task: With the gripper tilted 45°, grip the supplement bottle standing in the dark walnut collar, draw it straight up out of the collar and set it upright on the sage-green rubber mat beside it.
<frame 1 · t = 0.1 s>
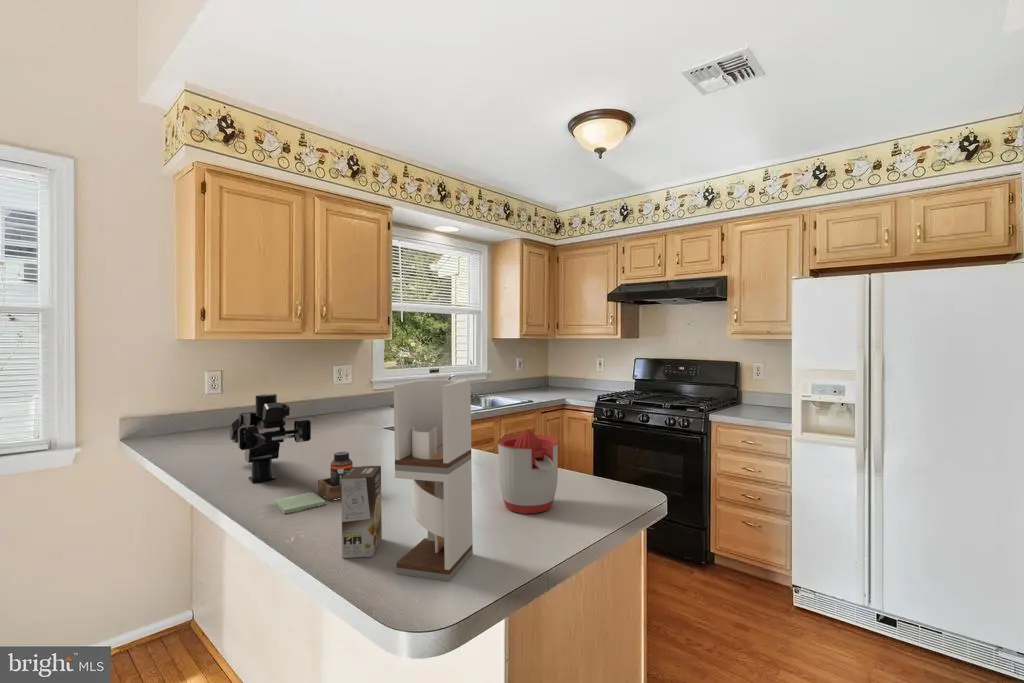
hand: (284, 438, 133), 17 cm above the countertop, tool horizontal, fingers open, 9 cm apart
citrus juicer: (530, 508, 125), on the countertop
supplement bottle: (341, 493, 138), resting in walnut collar
white tiered shelf stand: (436, 564, 95), on the countertop
sage rubber mat: (299, 504, 129), on the countertop
coffee box: (363, 549, 102), on the countertop
walnut collar: (341, 492, 138), on the countertop
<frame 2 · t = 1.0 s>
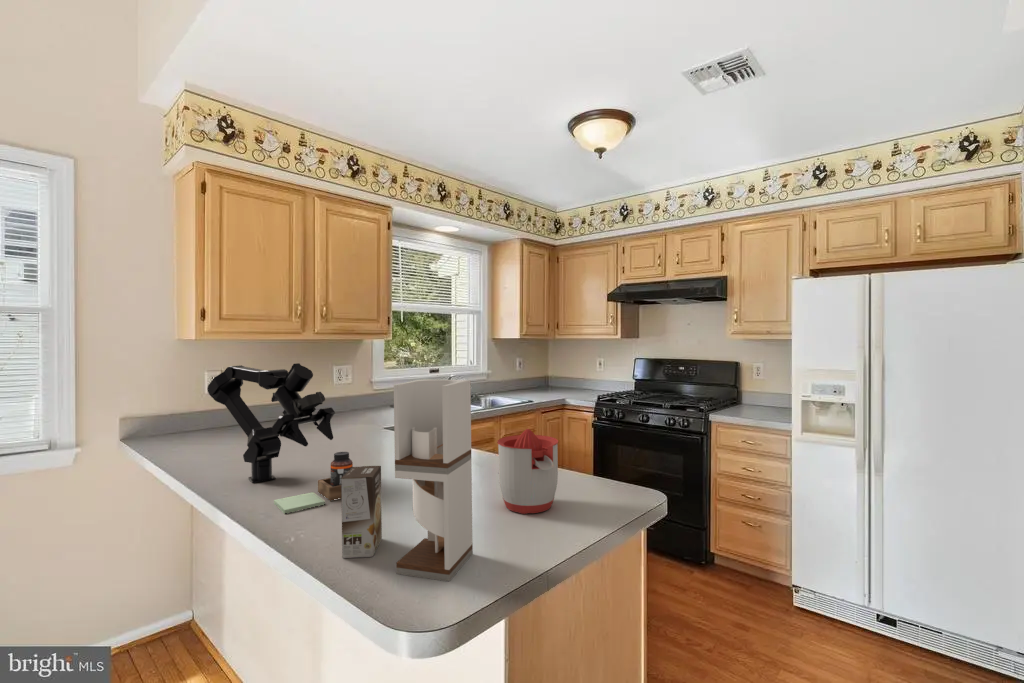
hand: (320, 442, 142), 14 cm above the countertop, tool tilted 45°, fingers open, 9 cm apart
nothing on the countertop moved.
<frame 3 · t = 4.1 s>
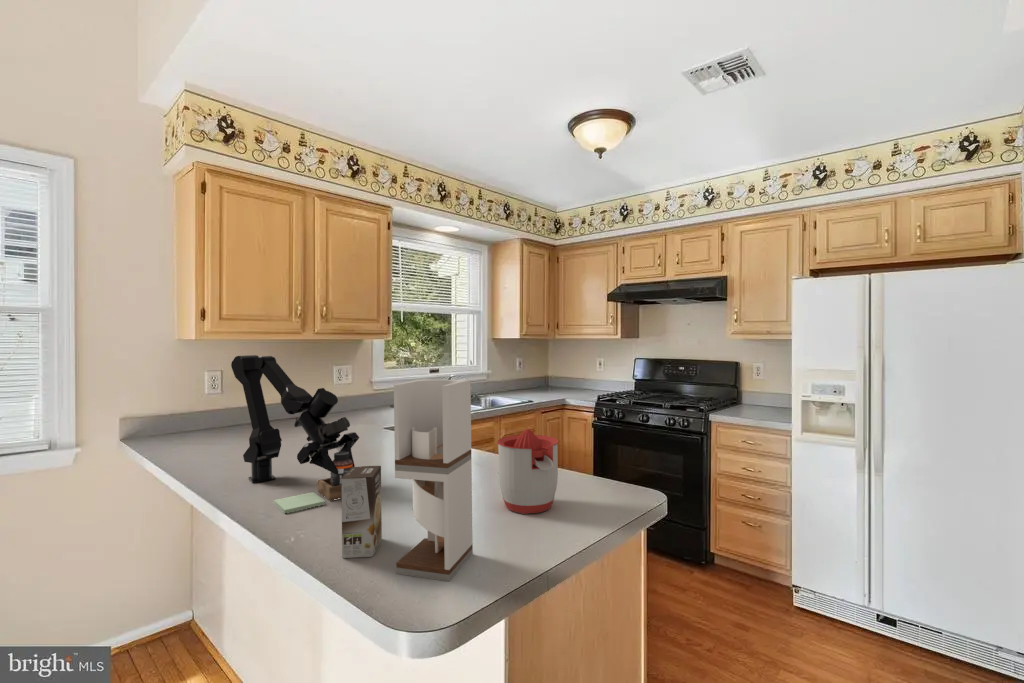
hand: (345, 470, 138), 7 cm above the countertop, tool tilted 45°, fingers closed on supplement bottle, 6 cm apart
supplement bottle: (341, 493, 138), resting in walnut collar, touching gripper
everything else where it was.
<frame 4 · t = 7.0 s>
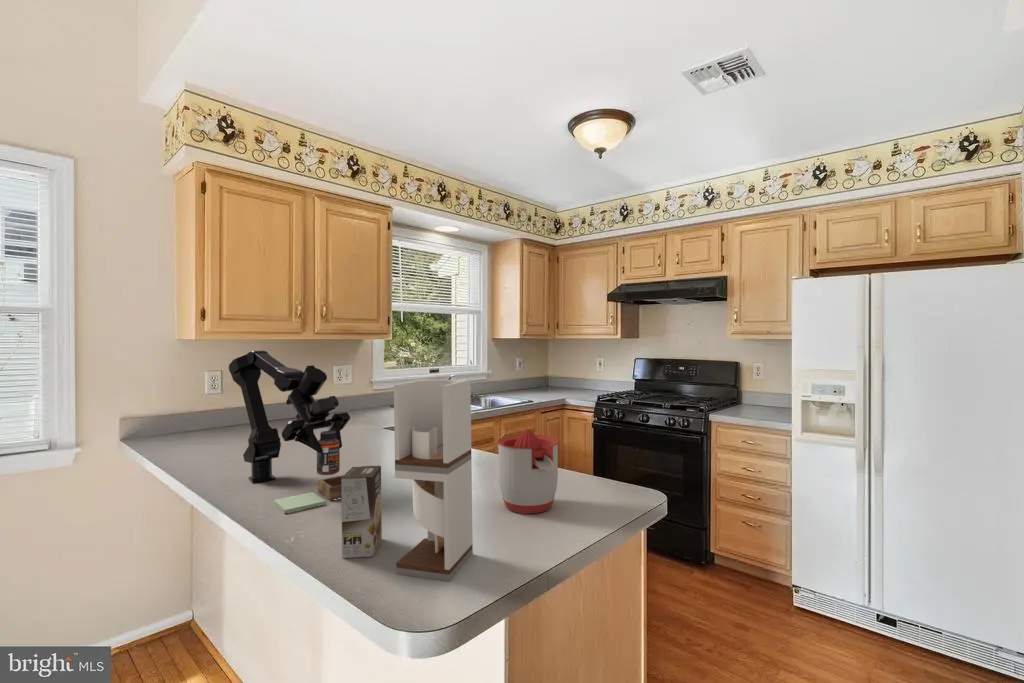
hand: (331, 449, 134), 13 cm above the countertop, tool tilted 45°, fingers closed on supplement bottle, 6 cm apart
supplement bottle: (328, 473, 135), point 6 cm above the countertop, touching gripper
everything else where it was.
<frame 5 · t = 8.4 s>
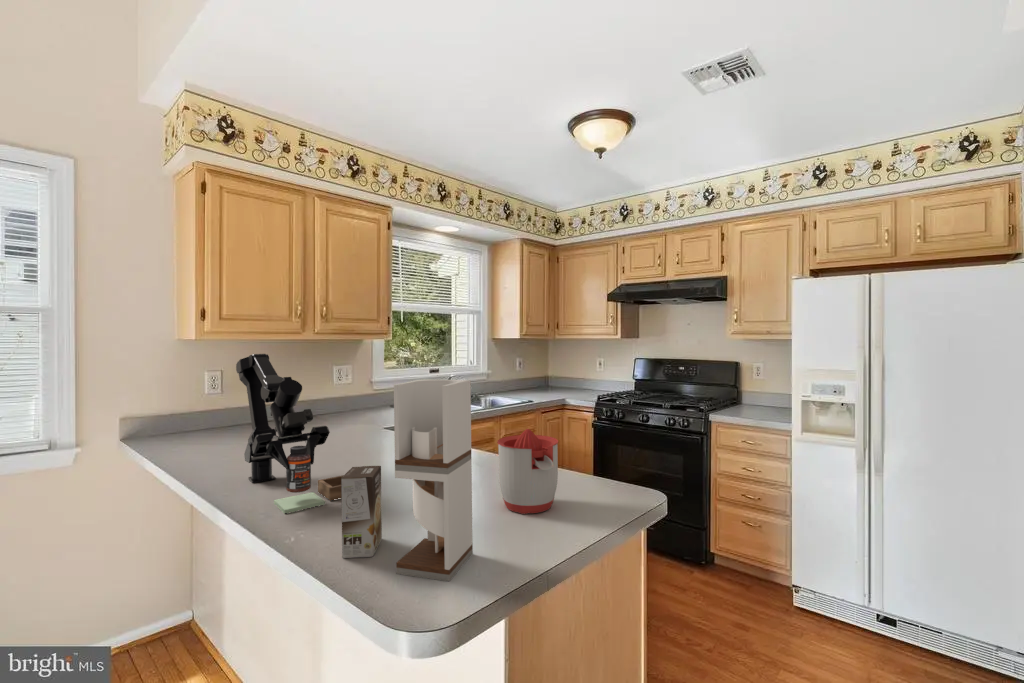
hand: (300, 465, 128), 10 cm above the countertop, tool tilted 45°, fingers closed on supplement bottle, 6 cm apart
supplement bottle: (298, 490, 129), point 4 cm above the countertop, touching gripper
everything else where it was.
when the fingers open (8 cm above the countertop, at t = 9.7 s): supplement bottle stays where it is, resting on sage rubber mat.
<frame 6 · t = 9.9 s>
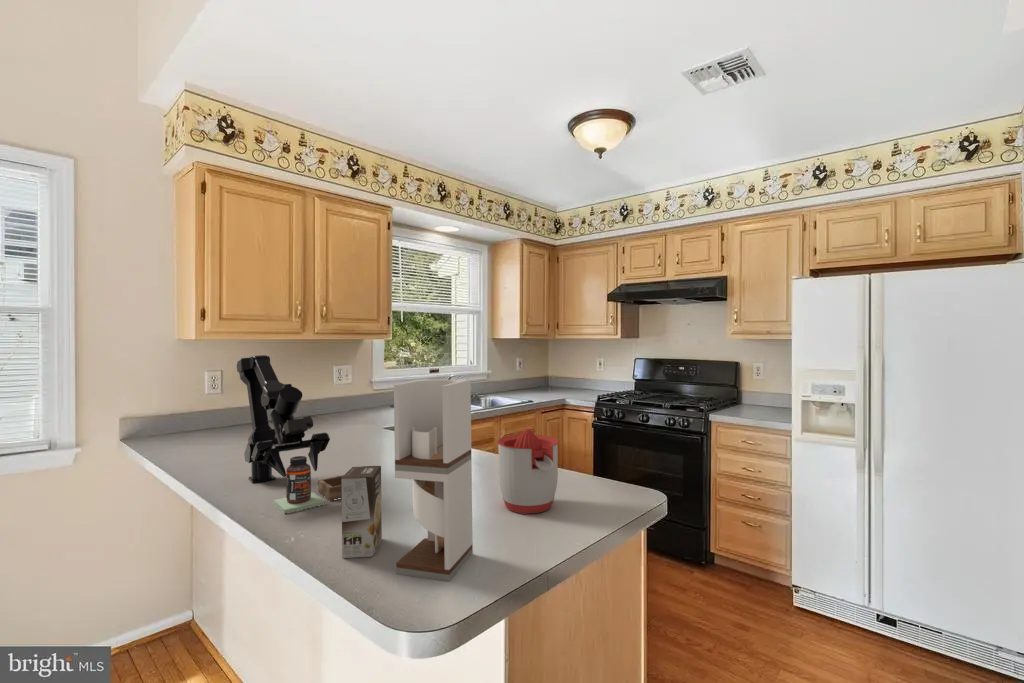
hand: (300, 473, 128), 9 cm above the countertop, tool tilted 45°, fingers open, 8 cm apart
supplement bottle: (299, 501, 129), point 1 cm above the countertop, touching sage rubber mat
everything else where it was.
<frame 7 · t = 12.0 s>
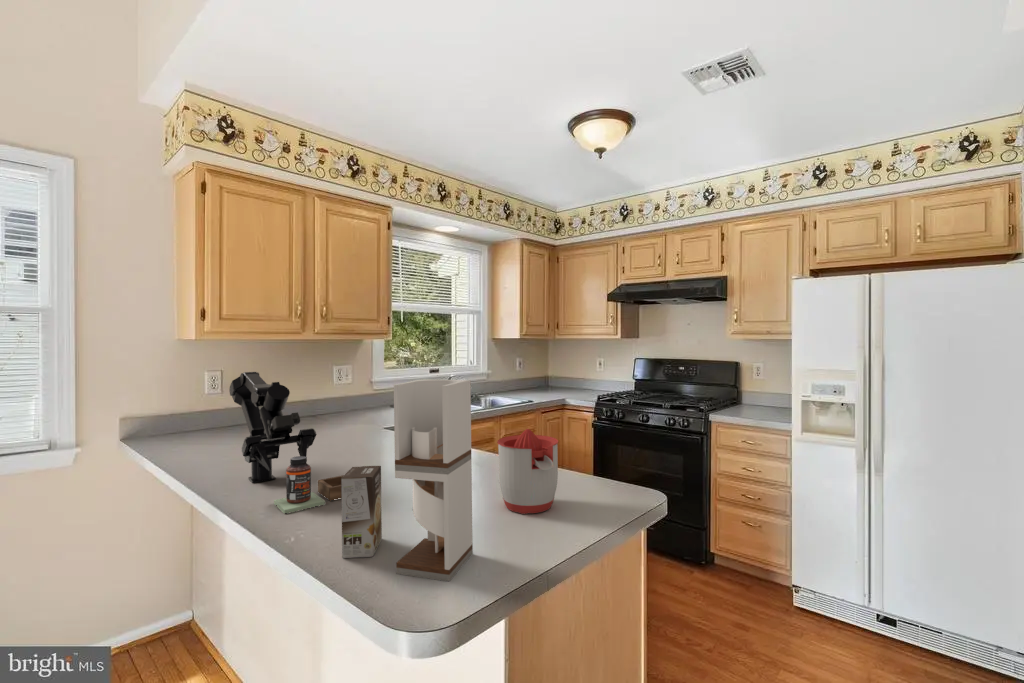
hand: (287, 466, 135), 8 cm above the countertop, tool tilted 45°, fingers open, 9 cm apart
nothing on the countertop moved.
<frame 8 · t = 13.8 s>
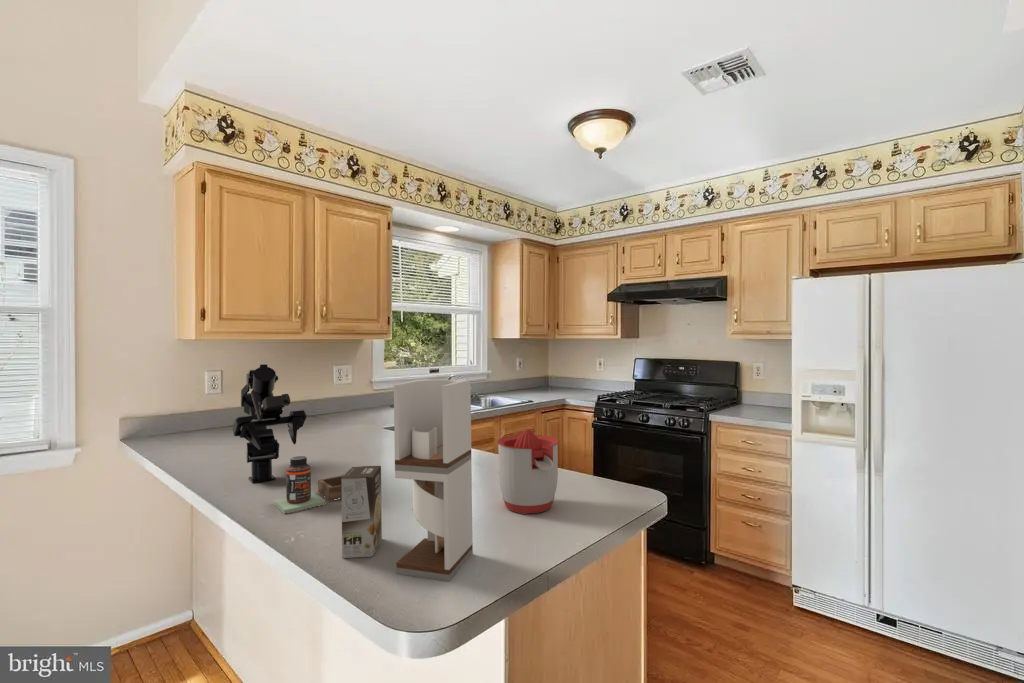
hand: (278, 446, 137), 14 cm above the countertop, tool tilted 45°, fingers open, 9 cm apart
nothing on the countertop moved.
at the end: supplement bottle 0.2 cm off-centre on the sage rubber mat, point 0.8 cm above the sage rubber mat's base; supplement bottle tilted 0°; the gripper is holding nothing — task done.
